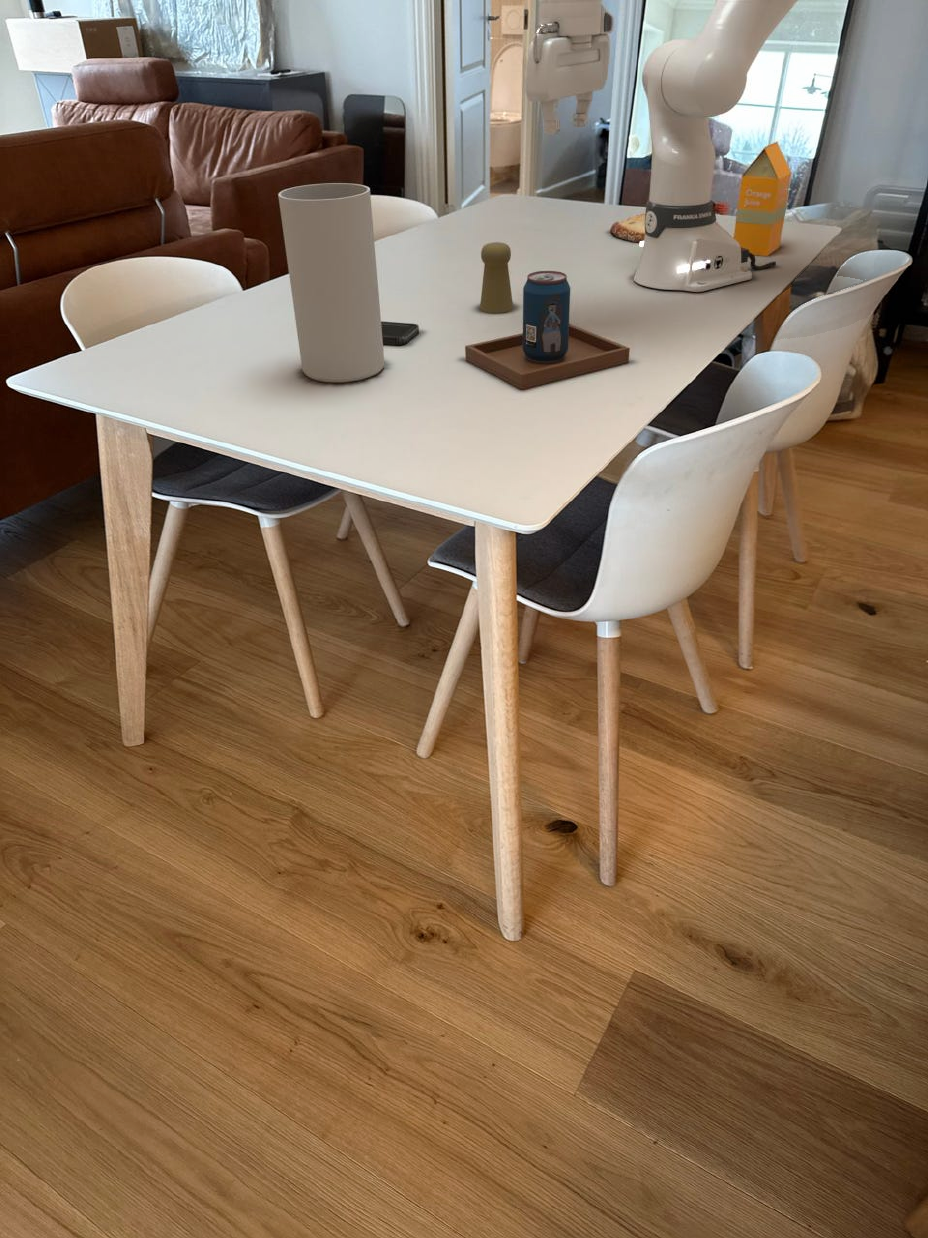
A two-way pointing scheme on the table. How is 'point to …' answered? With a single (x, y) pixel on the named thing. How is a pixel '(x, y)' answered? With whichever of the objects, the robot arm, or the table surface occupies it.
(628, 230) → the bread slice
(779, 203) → the orange juice
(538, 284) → the soda can
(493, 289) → the olive pawn
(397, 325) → the phone
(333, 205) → the cylinder vase
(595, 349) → the tray
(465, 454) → the table surface
